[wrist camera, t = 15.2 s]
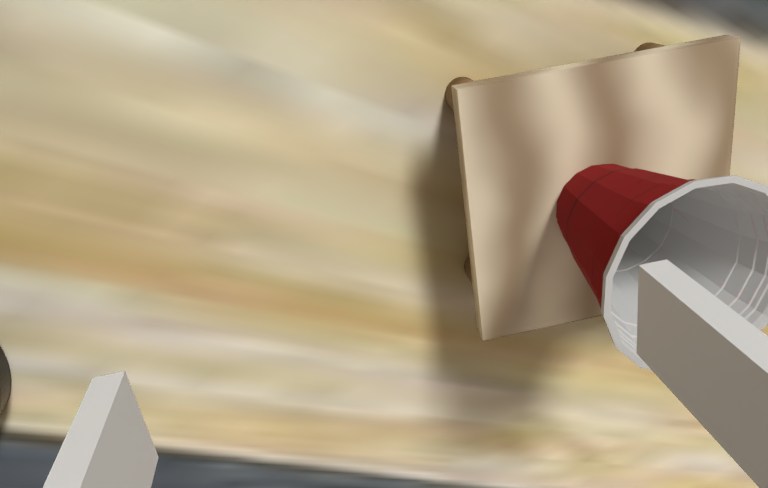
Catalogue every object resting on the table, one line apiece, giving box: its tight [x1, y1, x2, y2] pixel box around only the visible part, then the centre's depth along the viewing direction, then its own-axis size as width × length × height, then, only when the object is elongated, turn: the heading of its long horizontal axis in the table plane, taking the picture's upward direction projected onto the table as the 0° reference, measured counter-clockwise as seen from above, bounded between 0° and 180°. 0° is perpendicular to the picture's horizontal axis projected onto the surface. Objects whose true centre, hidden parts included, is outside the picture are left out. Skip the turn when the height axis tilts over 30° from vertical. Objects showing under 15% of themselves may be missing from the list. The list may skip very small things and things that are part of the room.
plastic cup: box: [556, 164, 768, 370], centre depth 37 cm, size 11×11×12 cm
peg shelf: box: [445, 35, 741, 341], centre depth 46 cm, size 18×18×8 cm
